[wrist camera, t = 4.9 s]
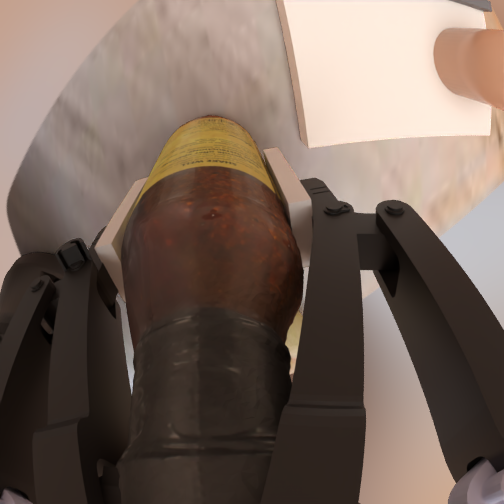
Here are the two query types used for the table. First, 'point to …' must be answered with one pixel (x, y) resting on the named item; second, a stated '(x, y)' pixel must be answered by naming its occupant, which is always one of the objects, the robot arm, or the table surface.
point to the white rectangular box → (376, 69)
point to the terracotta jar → (472, 63)
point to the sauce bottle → (207, 320)
